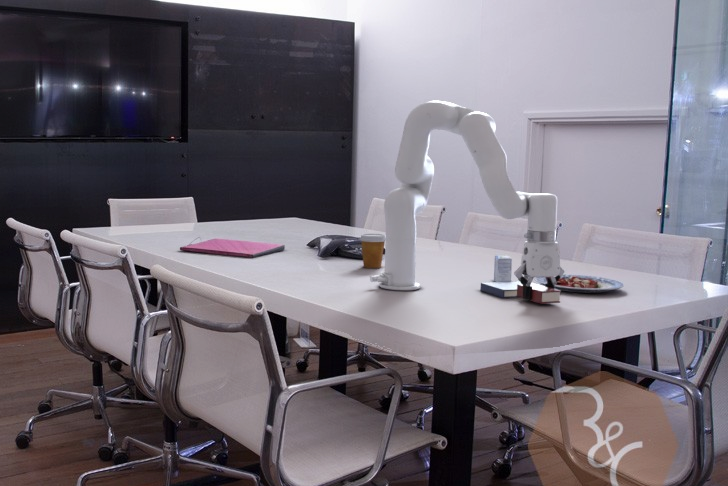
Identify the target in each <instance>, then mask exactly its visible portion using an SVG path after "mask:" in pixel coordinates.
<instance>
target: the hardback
mask: <svg viewBox="0 0 728 486" xmlns="http://www.w3.org/2000/svg"><path fill="white" fill-rule="evenodd" d="M520 284H521V282H520V281H519V280H518V281H516V280H515V281H511V282H495V281H493V282H491V281H490V282H481V283H480V292H482V293H485V294H489V295H492V296H495V297H498V298H501V299H516V298H520V297H517V285H520ZM531 284H536V283H535V282H532V283H531Z"/></svg>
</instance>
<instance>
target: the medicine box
mask: <svg viewBox="0 0 728 486" xmlns="http://www.w3.org/2000/svg"><path fill="white" fill-rule="evenodd" d="M512 267H513V259H512V258H511V256H509V255H505V254H502V255H501V254H498V255H497V254H495V255H494V265H493V268H494V269H493V282H512Z"/></svg>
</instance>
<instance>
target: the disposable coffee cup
mask: <svg viewBox="0 0 728 486" xmlns="http://www.w3.org/2000/svg"><path fill="white" fill-rule="evenodd" d="M359 240H360V242H361V243H360V244H361V253H362V263H363V267H364V268H367V269H381V268H382V264H383V263H382V261H383V255H384V251H385V249H384V248H385V243H386V234H382V233H361V235H360V237H359Z"/></svg>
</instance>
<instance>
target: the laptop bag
mask: <svg viewBox="0 0 728 486" xmlns="http://www.w3.org/2000/svg"><path fill="white" fill-rule="evenodd" d="M197 239H200V241H201V242H196V243H193V242H194V241H195V240H197ZM192 243H193V244H192ZM285 246H286V245H285V244H279V243H269V242H261V241H260V242H258V241H251V240H250V241H248V240H237V239H229V238H228V239H226V238H211V239H208V240H205V241H202V238H201V237H200V236H198V237H197V238H195V239H194V240H192V241H191V242H190V243H189V244H187V245H184V246H180V247H179V250H180V251H184V252H189V253H191V252H193V253H201V254H209V255H219V256H229V257H239V258H248V259H249V258H252V259H254V258H256V257H261V256H265V255H268V254H272V253H278V252H281V251H285V250H286V249H285V248H286V247H285Z"/></svg>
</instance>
